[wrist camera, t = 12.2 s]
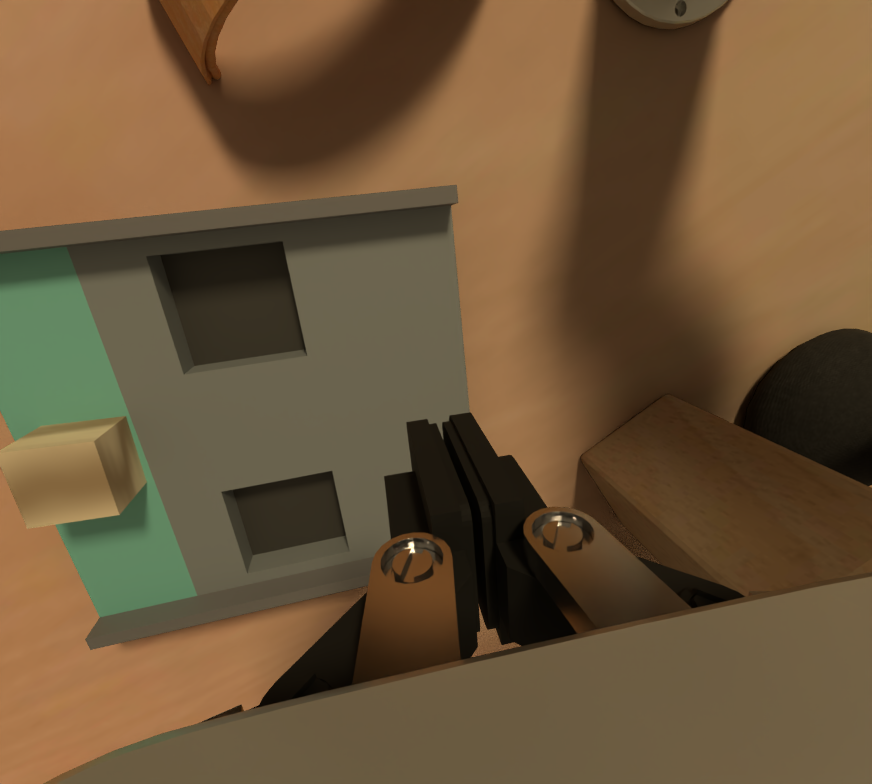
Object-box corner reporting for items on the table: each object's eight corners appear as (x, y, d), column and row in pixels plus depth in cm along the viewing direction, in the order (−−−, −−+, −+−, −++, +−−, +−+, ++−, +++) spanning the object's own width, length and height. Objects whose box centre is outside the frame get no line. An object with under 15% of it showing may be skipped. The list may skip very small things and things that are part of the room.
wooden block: (621, 524, 44) (825, 731, 25) (576, 455, 40) (777, 638, 22) (704, 465, 43) (973, 631, 25) (666, 390, 40) (949, 519, 21)
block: (40, 425, 28) (-6, 453, 25) (125, 416, 29) (93, 441, 25) (66, 493, 30) (27, 528, 26) (146, 482, 31) (119, 514, 27)
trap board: (-44, 242, 26) (-117, 242, 22) (441, 192, 31) (456, 184, 27) (120, 602, 36) (90, 649, 32) (473, 525, 40) (488, 557, 36)
